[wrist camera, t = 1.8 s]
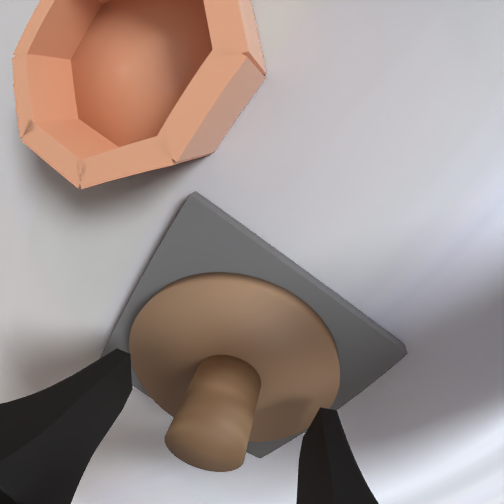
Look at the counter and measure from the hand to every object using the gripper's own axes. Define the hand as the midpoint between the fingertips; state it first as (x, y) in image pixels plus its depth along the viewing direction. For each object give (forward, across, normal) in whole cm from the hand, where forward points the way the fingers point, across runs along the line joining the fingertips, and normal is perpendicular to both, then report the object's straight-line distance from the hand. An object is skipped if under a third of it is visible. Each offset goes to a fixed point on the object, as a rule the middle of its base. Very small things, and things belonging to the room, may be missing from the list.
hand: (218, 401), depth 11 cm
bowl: (+3, +5, -11) cm, 12 cm away
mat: (+3, 0, 0) cm, 3 cm away
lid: (+2, 0, 0) cm, 2 cm away
